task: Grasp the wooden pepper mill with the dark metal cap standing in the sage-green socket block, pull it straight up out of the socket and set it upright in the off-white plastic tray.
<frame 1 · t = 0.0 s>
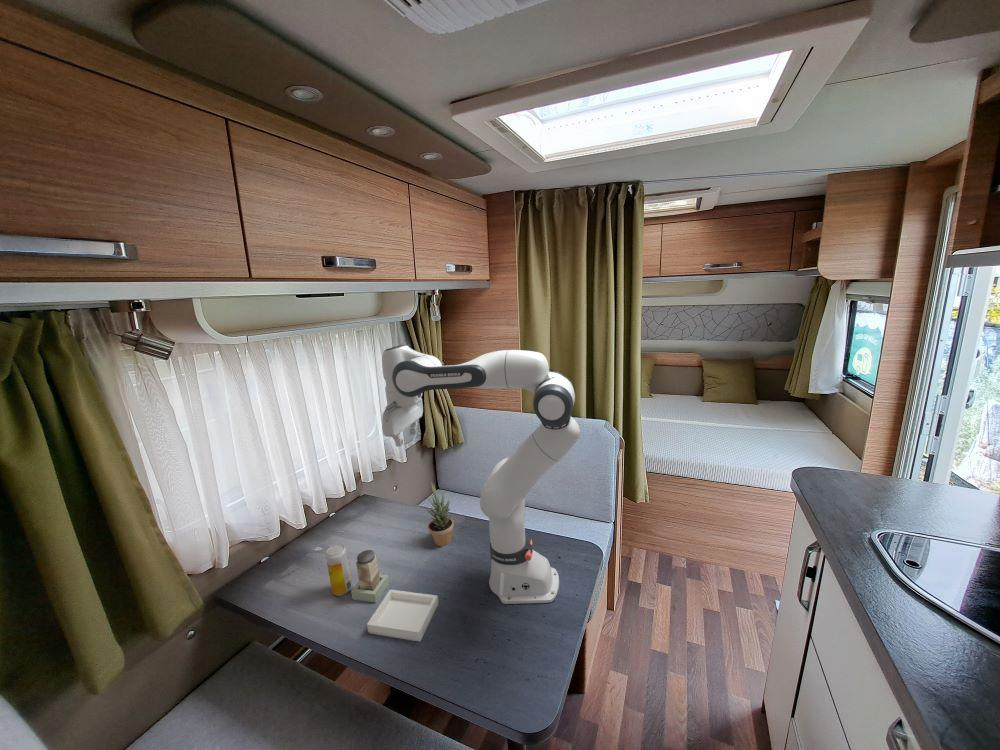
hand: (406, 439, 120), 48 cm above the table, fingers open, 8 cm apart
socket block: (371, 591, 123), on the table
wooden pepper mill: (368, 573, 122), in the socket block
orange pill bottle: (342, 590, 124), on the table
potted plant: (442, 541, 146), on the table
tray: (404, 618, 112), on the table
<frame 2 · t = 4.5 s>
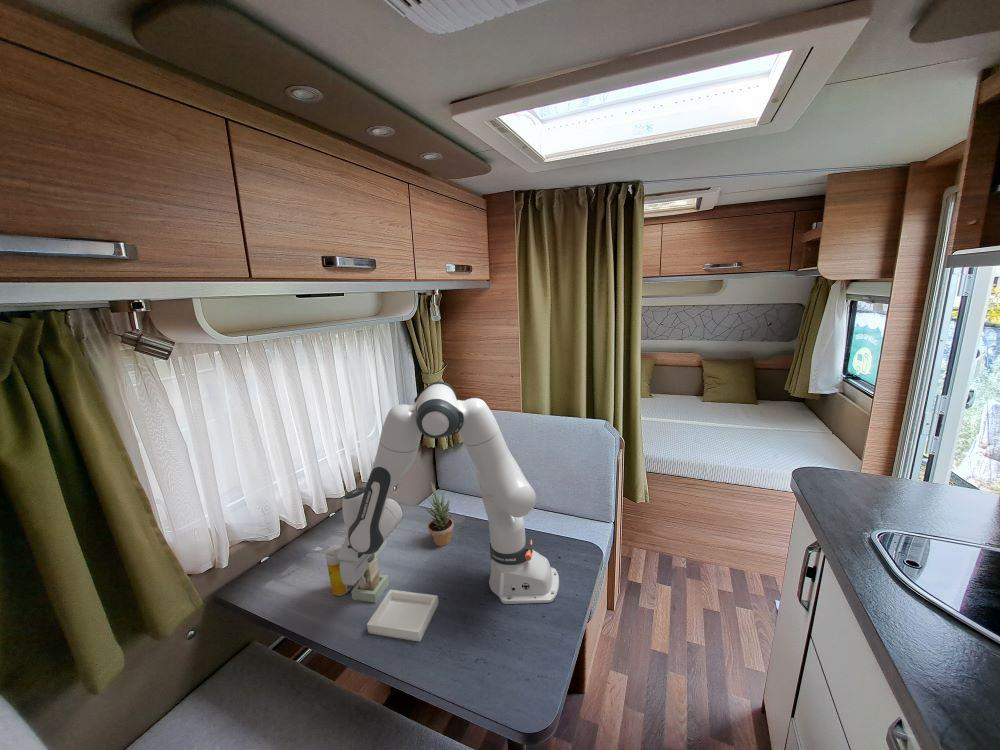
hand: (369, 576, 122), 6 cm above the table, fingers closed on wooden pepper mill, 4 cm apart
wooden pepper mill: (368, 573, 122), in the socket block, touching gripper
everything else where it was.
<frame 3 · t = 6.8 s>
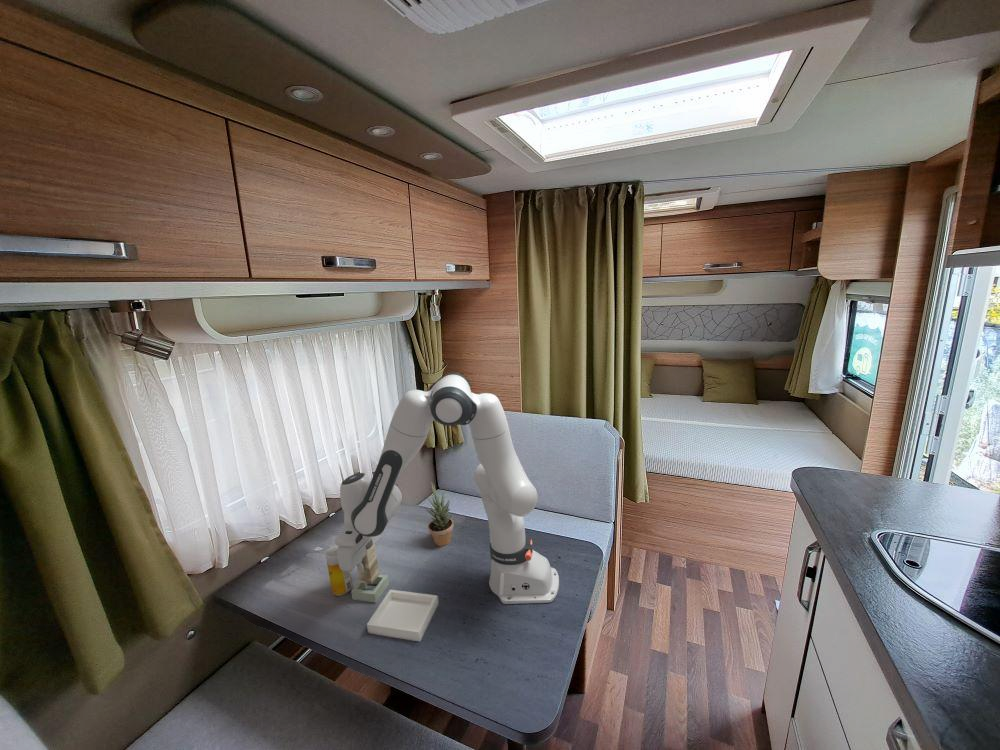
hand: (367, 563, 121), 10 cm above the table, fingers closed on wooden pepper mill, 4 cm apart
wooden pepper mill: (366, 560, 121), point 11 cm above the table, touching gripper
everything else where it was.
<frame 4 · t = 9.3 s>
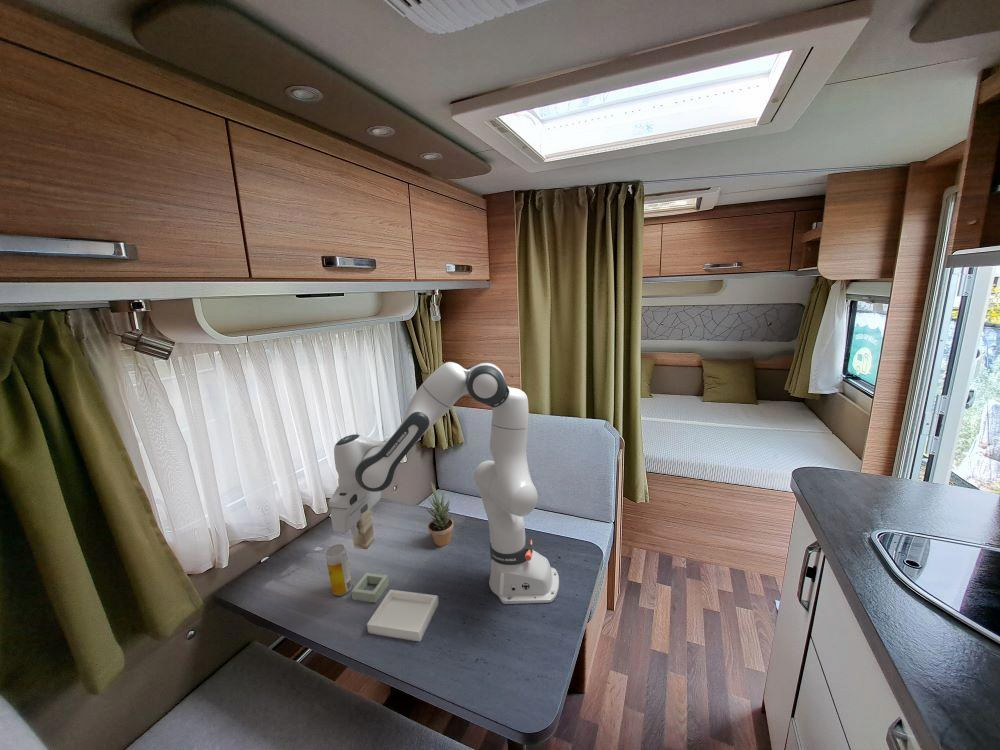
hand: (362, 528, 118), 23 cm above the table, fingers closed on wooden pepper mill, 4 cm apart
wooden pepper mill: (361, 525, 118), point 24 cm above the table, touching gripper
everything else where it was.
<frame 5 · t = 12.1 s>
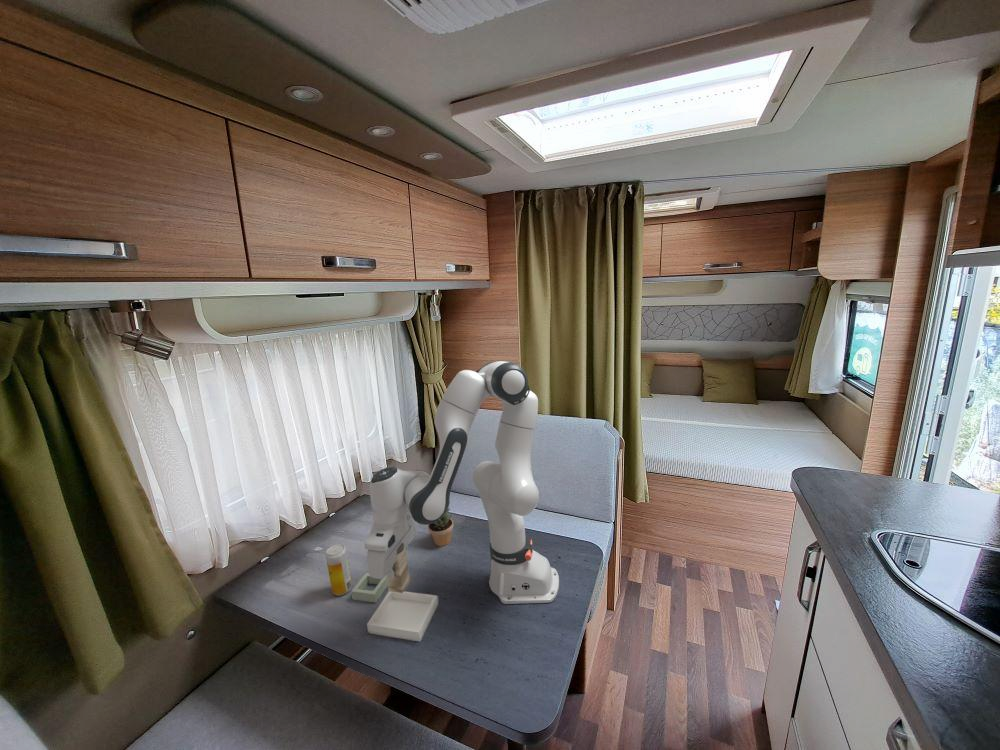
hand: (397, 569, 108), 16 cm above the table, fingers closed on wooden pepper mill, 4 cm apart
wooden pepper mill: (396, 566, 108), point 18 cm above the table, touching gripper
everything else where it was.
when the fingers open (8 cm above the table, at t = 14.4 s): wooden pepper mill drops 1 cm, resting on tray.
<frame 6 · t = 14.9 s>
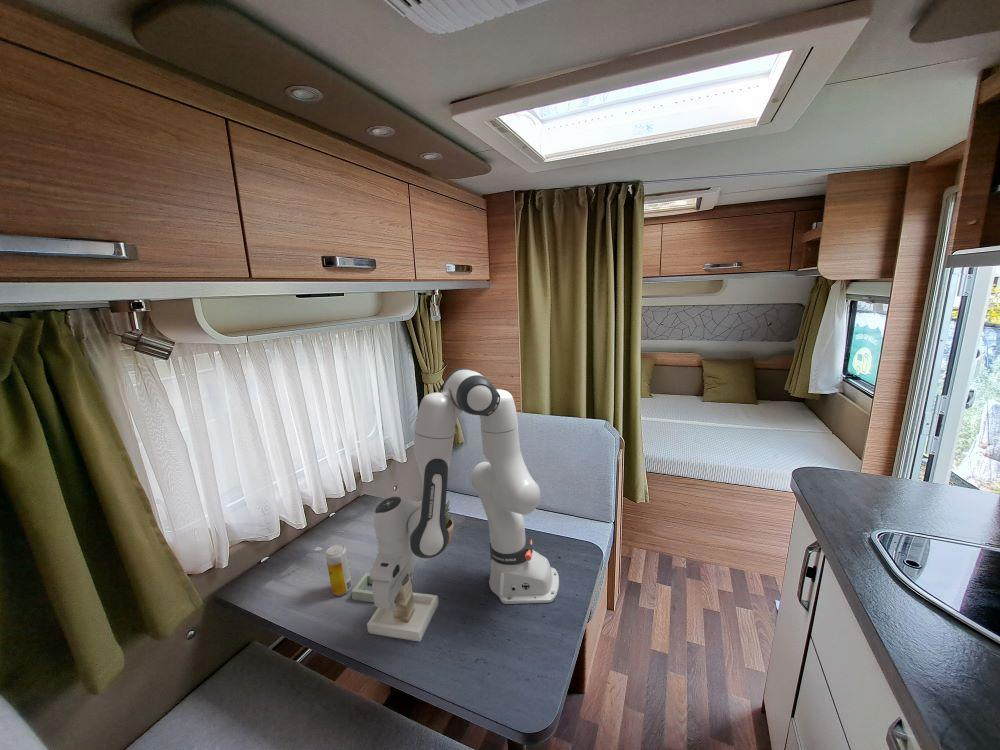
hand: (401, 595, 110), 8 cm above the table, fingers open, 8 cm apart
wooden pepper mill: (401, 596, 110), in the tray, point 7 cm above the table
everything else where it was.
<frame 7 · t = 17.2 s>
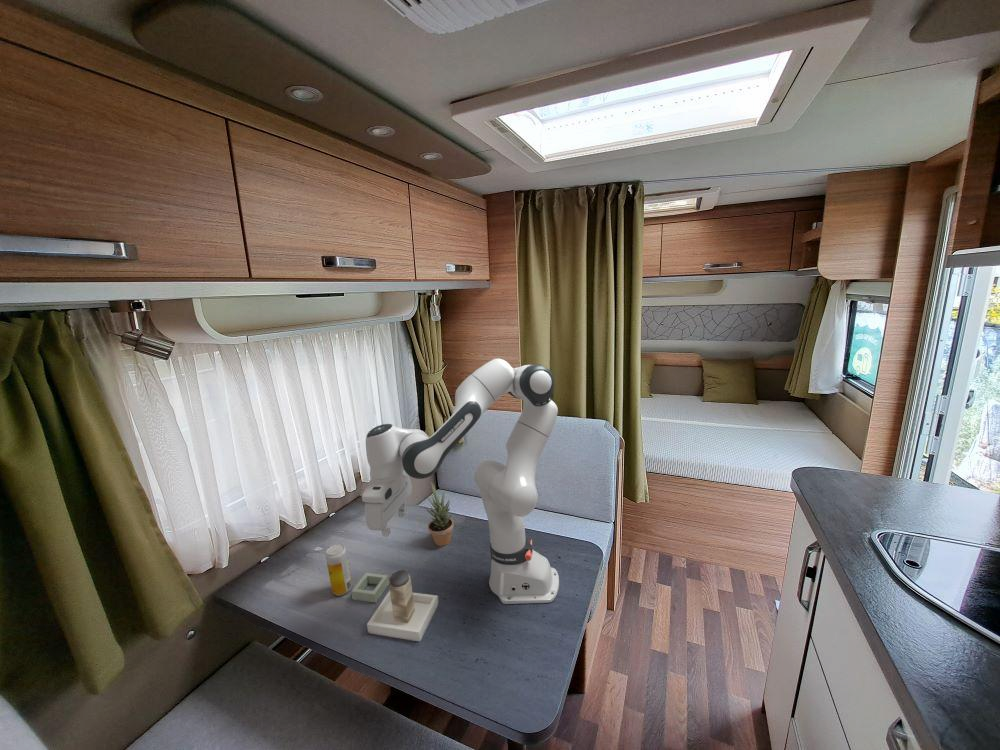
hand: (394, 524, 110), 28 cm above the table, fingers open, 8 cm apart
nothing on the table moved.
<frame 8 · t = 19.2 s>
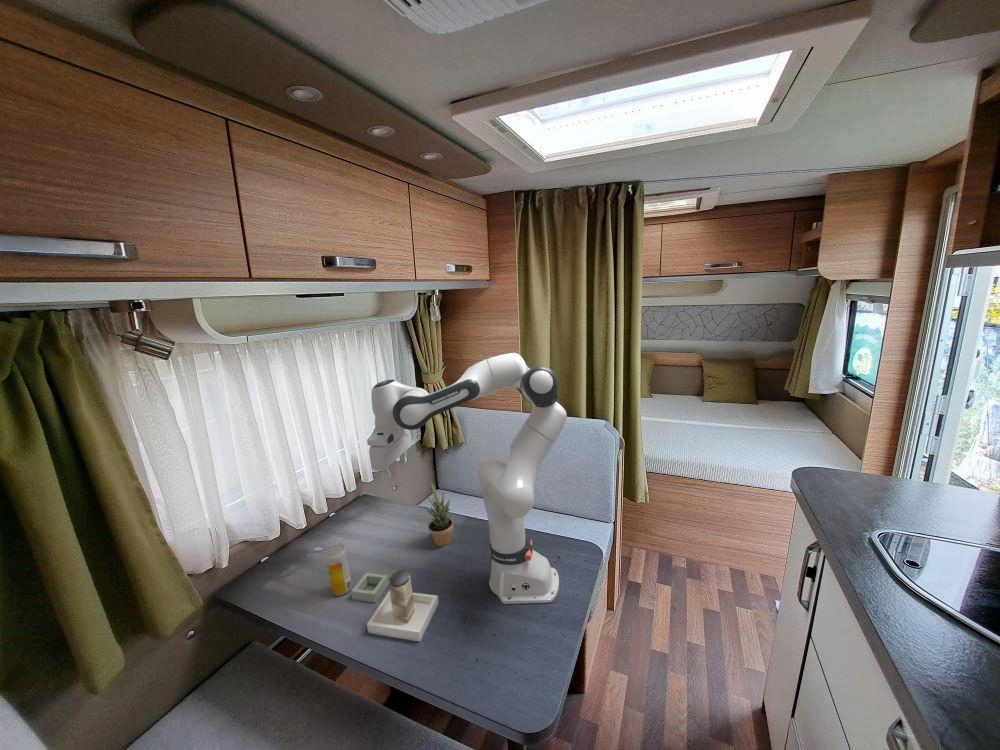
hand: (395, 470, 124), 37 cm above the table, fingers open, 8 cm apart
nothing on the table moved.
at the end: wooden pepper mill 0.0 cm off-centre on the tray, point 7.4 cm above the tray's base; wooden pepper mill tilted 0°; the gripper is holding nothing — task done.
